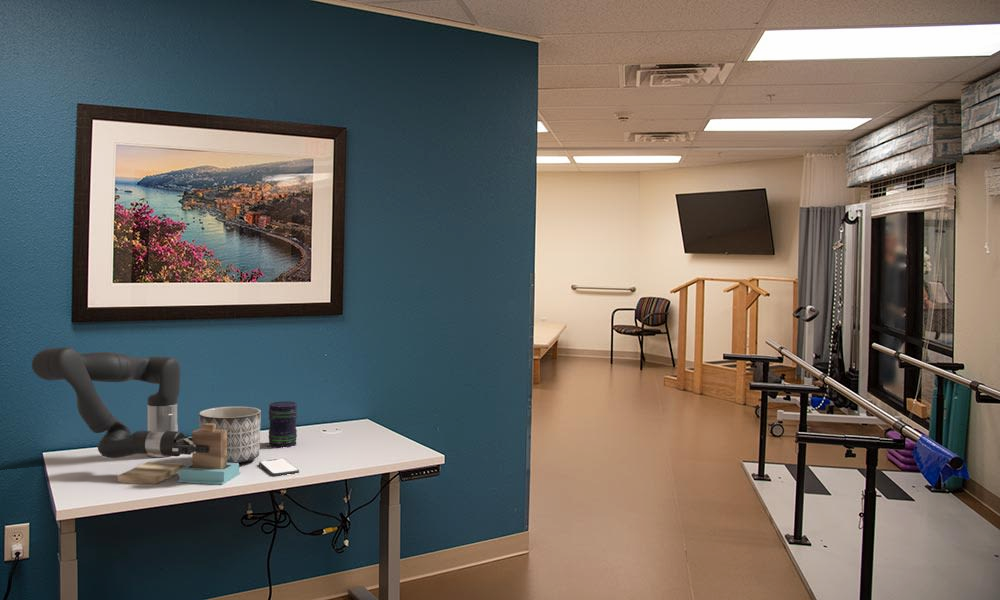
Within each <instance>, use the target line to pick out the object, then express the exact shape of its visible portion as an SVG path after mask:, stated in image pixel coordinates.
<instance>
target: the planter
mask: <svg viewBox="0 0 1000 600" xmlns="http://www.w3.org/2000/svg"><path fill="white" fill-rule="evenodd" d="M261 419H262V410H261V409H259V408H257V407H251V406H221V407H213V408H207V409H204V410H201V411H200V412H199V413H198V421H199V422H198V423H199V426H198V427H199V429H204V424H206V423H212V424H216V429H218V430H227V463H240V464H243V463H242V462H244V463H245V462H248V461H250V462H251V461H252V460H255V459H257V458H258V457H259V456H260V449H261V448H260V447H261V445H260V444H261V422H262V420H261Z"/></svg>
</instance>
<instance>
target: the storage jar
mask: <svg viewBox="0 0 1000 600" xmlns="http://www.w3.org/2000/svg"><path fill="white" fill-rule="evenodd" d="M268 407H269V408H268V420H269V430H268V442H269V443H268V447H271V448H274V447H276V448H275V449H284V448H283V447H287V448H292V447H291V446H293V447H295V446H297V437H298V436H297V435H298V434H297V431H298V430H297V417H298V410H297V402H295V401H273V402H270V403H268ZM281 447H282V448H281Z"/></svg>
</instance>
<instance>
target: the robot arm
mask: <svg viewBox="0 0 1000 600" xmlns="http://www.w3.org/2000/svg"><path fill="white" fill-rule="evenodd" d="M31 368H32V371H33V372H34V374H35V375H36V376H37V377H38V378H40V379H42V380H45V381H58V380H59V381H60V380H61V381H62V380H65V381H66V382H68V384H69V385H70V386H71V388H72V389H73V390H74V393H75V395H76V405H77V406H76V407H77V410H78V411H77V412H78V414H79V415H80V417H81V418H82V420H83V422H84V423H85V424H86V426H87V427H88V428H89V430H90V431H91V432H93V433H94V434H101V433H105V434H104V435H103V436H102V438H101V439H100V441H99V442H98V444H97V450H98V452H99V454H100V455H101V456H103V457H106V458H108V459H109V458H110V459H118V458H124V457H131V456H133V455H137V454H138V455H139V454H140V455H147V456H148V457H150V458H165V457H177V458H178V457H179V456H181V455H186V456H187V455H188V456H189V455H192V453H196V452H197V453H208V452H209V451H210V446H209V445H197V446H196V444H194V443H193V441H192V436H187V438H186V436H185V434H184V432H182V431H179V425H178V399H179V398H178V397H179V395H180V386H181V365H180V363H179V361H178V360H177V359H176V358H174V357H170V356H169V357H168V356H146V357H134V356H130V355H128V354H125V353H119V352H111V351H109V352H107V351H106V352H105V351H102V352H99V351H98V352H88V353H87V352H86V353H78V351H77V350H75V349H74V348H73V347H69V346H67V347H66V346H65V347H64V346H62V347H52V348H50V347H49V348H47V349H44V350H41V351H39V352H38V353H37V354H35V356H34V357H33V359H32V360H31ZM130 380H131V381H140V382H144V383H149V384H155V385H158V391H156V393H153V394H150V395H149V396H148V397H147V430H136V431H134V432H133V433H131V429H130V428H129V427H128V426H127V425H126V424H124V423H123V422H122V421H120V420H119V419H118V418H116V417H115V416H113V414H112V412H111V411H110V410H109V408H108V407H107V406H106V404H105V403H104V402H103V400H102V399H101V397H100V395H99V394H98V392H97V389H96V387H95V385H94V383H93V382H102V383H123V382H128V381H130Z"/></svg>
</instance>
